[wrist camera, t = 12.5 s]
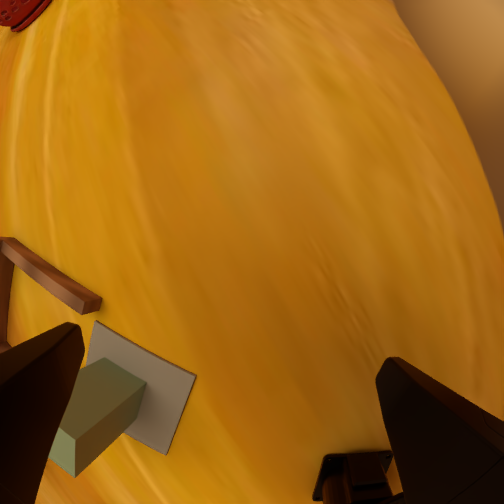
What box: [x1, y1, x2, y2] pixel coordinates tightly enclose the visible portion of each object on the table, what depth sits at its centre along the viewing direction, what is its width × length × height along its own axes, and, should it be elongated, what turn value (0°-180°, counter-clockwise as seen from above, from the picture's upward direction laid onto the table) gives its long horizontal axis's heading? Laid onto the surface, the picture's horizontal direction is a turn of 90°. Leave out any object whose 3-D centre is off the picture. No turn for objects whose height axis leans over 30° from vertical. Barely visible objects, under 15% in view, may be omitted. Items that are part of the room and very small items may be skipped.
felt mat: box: [86, 320, 196, 455], centre depth 21 cm, size 10×10×1 cm
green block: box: [48, 357, 147, 478], centre depth 16 cm, size 4×4×10 cm
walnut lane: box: [0, 237, 102, 353], centre depth 21 cm, size 15×14×5 cm
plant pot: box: [0, 0, 51, 32], centre depth 21 cm, size 13×13×12 cm
